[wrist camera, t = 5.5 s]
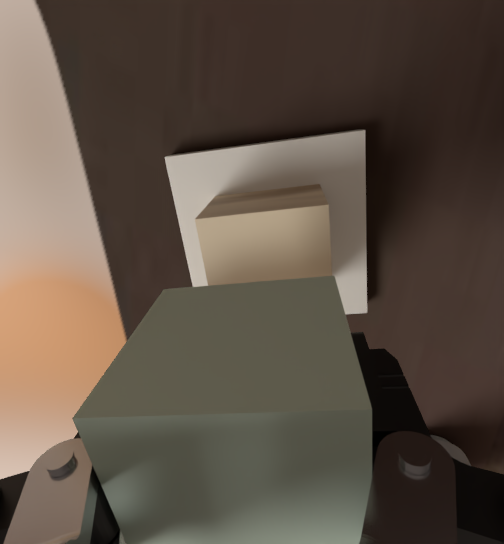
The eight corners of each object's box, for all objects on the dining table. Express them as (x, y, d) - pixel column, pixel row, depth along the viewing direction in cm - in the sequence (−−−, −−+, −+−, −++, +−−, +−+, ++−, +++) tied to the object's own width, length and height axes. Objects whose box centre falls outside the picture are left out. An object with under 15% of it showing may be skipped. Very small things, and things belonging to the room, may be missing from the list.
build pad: (170, 154, 21) (164, 157, 20) (361, 128, 20) (365, 130, 19) (204, 315, 26) (201, 323, 25) (363, 303, 24) (367, 312, 23)
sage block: (163, 289, 11) (72, 418, 6) (334, 275, 10) (372, 409, 6) (195, 416, 13) (144, 585, 8) (340, 411, 12) (372, 594, 7)
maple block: (215, 196, 21) (194, 219, 16) (319, 183, 20) (328, 204, 16) (231, 288, 23) (217, 331, 19) (325, 280, 22) (334, 323, 18)
